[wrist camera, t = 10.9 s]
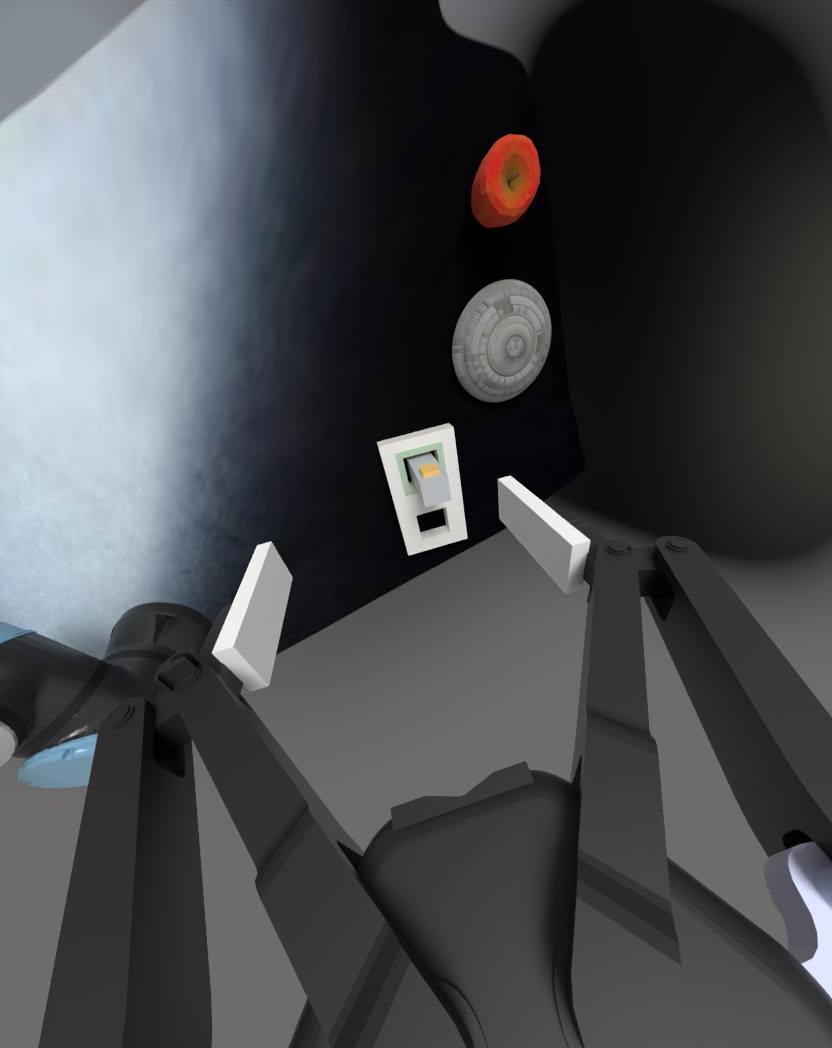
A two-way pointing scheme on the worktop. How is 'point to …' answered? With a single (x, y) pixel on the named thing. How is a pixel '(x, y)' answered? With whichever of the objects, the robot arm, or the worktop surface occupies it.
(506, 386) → the flying saucer
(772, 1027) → the robot arm
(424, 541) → the panel
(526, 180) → the apple
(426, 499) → the plug
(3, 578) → the worktop surface
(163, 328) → the worktop surface
